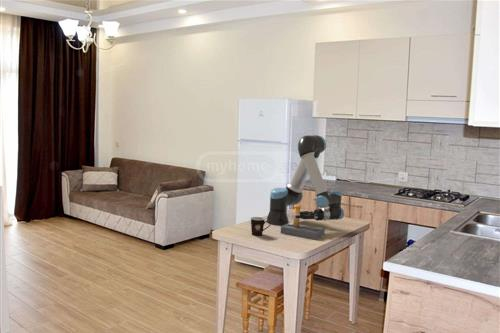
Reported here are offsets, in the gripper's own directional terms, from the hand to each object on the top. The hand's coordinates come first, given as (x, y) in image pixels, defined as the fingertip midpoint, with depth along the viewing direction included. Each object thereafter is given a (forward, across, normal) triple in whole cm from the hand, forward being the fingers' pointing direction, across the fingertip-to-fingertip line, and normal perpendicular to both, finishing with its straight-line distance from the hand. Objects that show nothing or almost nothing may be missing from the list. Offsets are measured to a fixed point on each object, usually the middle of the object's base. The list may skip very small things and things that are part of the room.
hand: (289, 215), depth 277 cm
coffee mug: (+20, 0, -11) cm, 23 cm away
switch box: (-8, -3, -11) cm, 14 cm away
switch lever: (-6, 0, -11) cm, 12 cm away
